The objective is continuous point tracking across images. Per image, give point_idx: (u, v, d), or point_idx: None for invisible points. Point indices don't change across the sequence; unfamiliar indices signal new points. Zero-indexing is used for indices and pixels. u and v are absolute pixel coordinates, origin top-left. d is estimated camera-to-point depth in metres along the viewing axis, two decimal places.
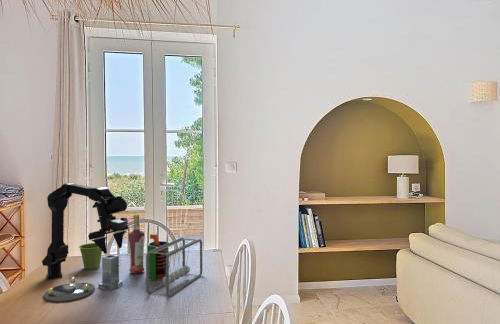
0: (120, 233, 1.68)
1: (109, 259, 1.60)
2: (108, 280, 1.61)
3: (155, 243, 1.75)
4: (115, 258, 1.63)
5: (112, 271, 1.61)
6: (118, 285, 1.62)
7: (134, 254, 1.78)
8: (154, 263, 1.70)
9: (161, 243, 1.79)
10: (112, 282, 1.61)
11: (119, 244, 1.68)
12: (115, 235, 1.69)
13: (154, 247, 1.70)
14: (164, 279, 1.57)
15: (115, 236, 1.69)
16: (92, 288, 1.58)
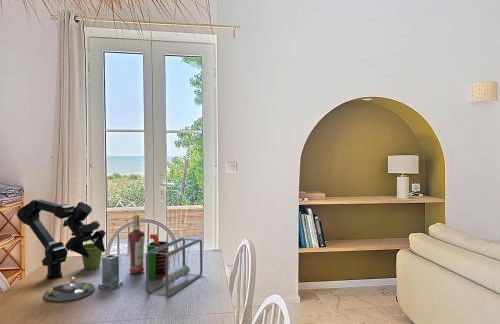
0: (98, 238, 1.72)
1: (109, 259, 1.60)
2: (108, 280, 1.61)
3: (155, 243, 1.75)
4: (115, 258, 1.63)
5: (112, 271, 1.61)
6: (118, 285, 1.62)
7: (134, 254, 1.78)
8: (154, 263, 1.70)
9: (161, 243, 1.79)
10: (112, 282, 1.61)
11: (102, 248, 1.71)
12: (95, 243, 1.73)
13: (154, 247, 1.70)
14: (164, 279, 1.57)
15: (96, 244, 1.72)
16: (92, 288, 1.58)
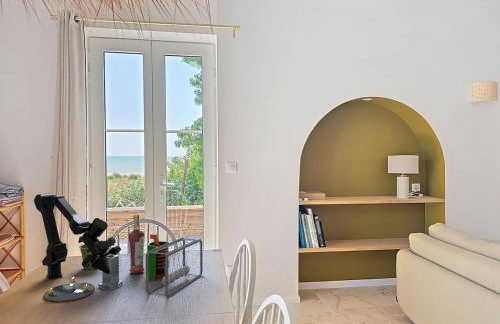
0: None
1: (109, 259, 1.60)
2: (108, 280, 1.61)
3: (155, 243, 1.75)
4: (115, 258, 1.63)
5: (112, 271, 1.61)
6: (118, 285, 1.62)
7: (134, 254, 1.78)
8: (154, 263, 1.70)
9: (161, 243, 1.79)
10: (112, 282, 1.61)
11: None
12: None
13: (154, 247, 1.70)
14: (164, 279, 1.57)
15: None
16: (92, 288, 1.58)
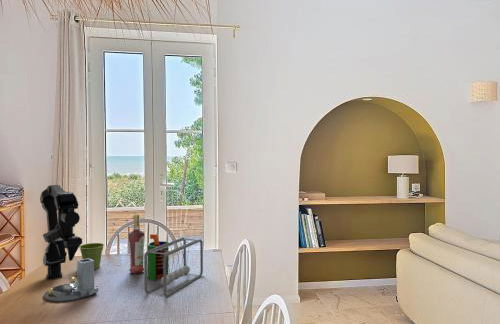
0: None
1: (81, 263, 1.51)
2: (80, 286, 1.52)
3: (155, 243, 1.75)
4: (89, 263, 1.53)
5: (84, 276, 1.51)
6: (90, 292, 1.51)
7: (134, 254, 1.78)
8: (154, 263, 1.70)
9: (161, 243, 1.79)
10: (84, 288, 1.51)
11: None
12: None
13: (154, 247, 1.70)
14: (162, 279, 1.57)
15: None
16: None
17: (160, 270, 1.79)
